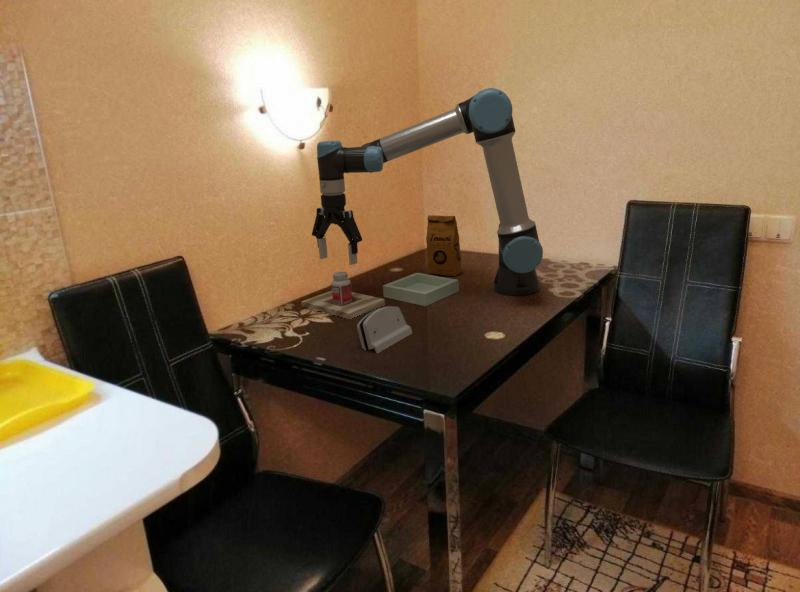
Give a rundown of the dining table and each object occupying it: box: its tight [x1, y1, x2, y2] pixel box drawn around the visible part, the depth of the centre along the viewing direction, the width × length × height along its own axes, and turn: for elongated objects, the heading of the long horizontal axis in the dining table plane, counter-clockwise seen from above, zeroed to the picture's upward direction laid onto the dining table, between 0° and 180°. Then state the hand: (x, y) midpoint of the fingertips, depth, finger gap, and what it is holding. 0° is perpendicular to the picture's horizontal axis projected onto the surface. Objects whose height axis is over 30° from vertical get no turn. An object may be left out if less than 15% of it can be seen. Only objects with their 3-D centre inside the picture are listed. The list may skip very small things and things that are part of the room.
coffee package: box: [425, 214, 462, 277], centre depth 217 cm, size 10×12×22 cm
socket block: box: [301, 290, 386, 320], centre depth 190 cm, size 22×16×2 cm
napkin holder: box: [356, 306, 413, 354], centre depth 160 cm, size 17×5×10 cm, turn 144°
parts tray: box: [382, 272, 460, 307], centre depth 198 cm, size 18×18×4 cm
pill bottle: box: [330, 271, 353, 307], centre depth 189 cm, size 6×6×11 cm
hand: (338, 261), depth 186 cm, fingers open, 13 cm apart
